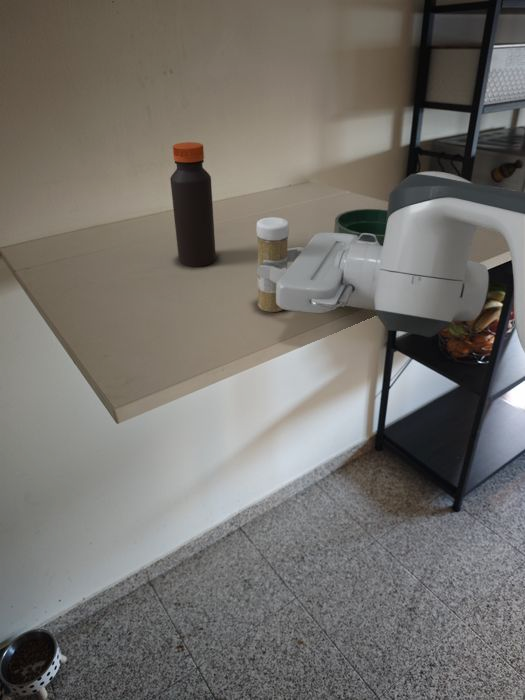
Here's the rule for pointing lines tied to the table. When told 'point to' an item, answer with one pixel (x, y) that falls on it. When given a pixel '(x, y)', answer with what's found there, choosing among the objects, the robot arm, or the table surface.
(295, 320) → the table surface
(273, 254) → the sprinkles bottle
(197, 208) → the vinegar
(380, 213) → the green faceted bowl
